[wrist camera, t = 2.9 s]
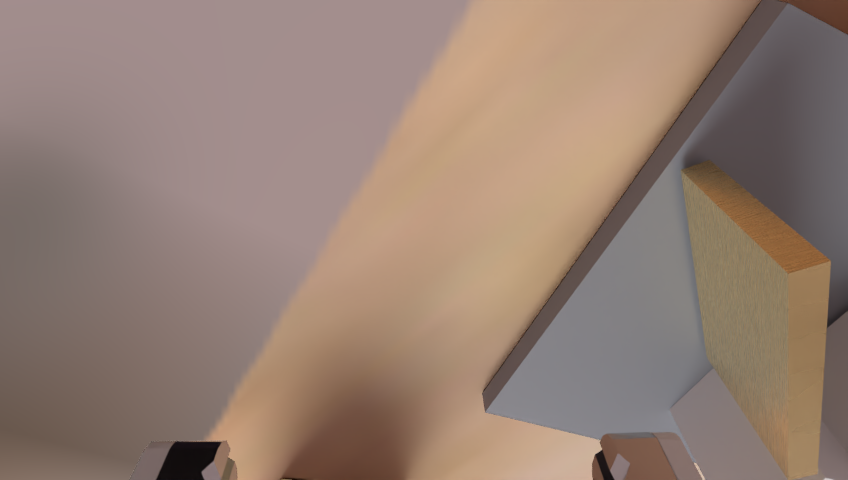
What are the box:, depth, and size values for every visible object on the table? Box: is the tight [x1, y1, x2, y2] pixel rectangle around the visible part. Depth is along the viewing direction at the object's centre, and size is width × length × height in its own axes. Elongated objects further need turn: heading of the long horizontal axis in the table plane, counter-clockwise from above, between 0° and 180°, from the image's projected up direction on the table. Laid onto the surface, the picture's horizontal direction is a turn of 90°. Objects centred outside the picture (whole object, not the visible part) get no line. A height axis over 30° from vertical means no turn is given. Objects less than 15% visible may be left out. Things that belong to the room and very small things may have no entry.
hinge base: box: [482, 0, 848, 480], centre depth 20 cm, size 22×21×8 cm
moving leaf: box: [681, 160, 831, 480], centre depth 18 cm, size 1×11×6 cm, turn 23°
